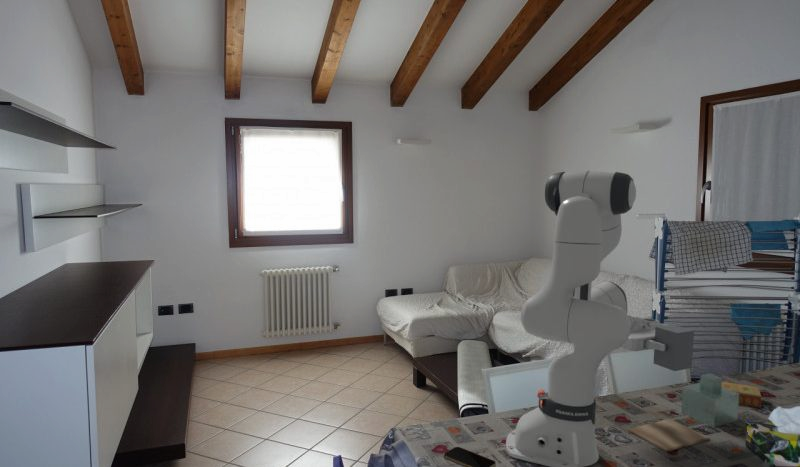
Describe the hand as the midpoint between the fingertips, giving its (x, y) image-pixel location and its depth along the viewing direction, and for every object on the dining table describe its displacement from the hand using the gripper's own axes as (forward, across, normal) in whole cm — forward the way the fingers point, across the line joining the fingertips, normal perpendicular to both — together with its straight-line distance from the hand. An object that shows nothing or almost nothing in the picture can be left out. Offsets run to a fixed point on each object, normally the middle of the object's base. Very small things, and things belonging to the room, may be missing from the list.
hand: (676, 346), depth 137 cm
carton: (-11, +40, +25) cm, 48 cm away
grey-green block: (-4, +21, +24) cm, 33 cm away
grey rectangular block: (-1, 0, +6) cm, 6 cm away
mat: (-1, 0, +25) cm, 25 cm away
